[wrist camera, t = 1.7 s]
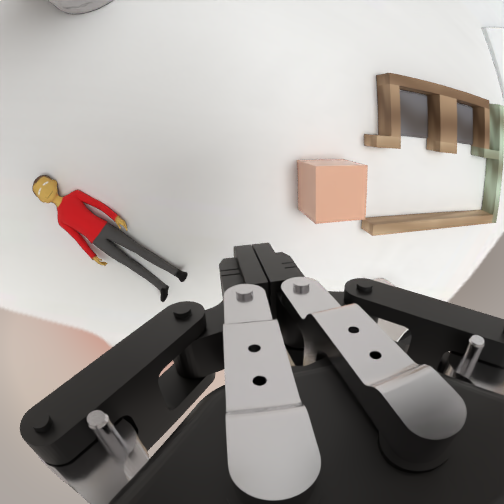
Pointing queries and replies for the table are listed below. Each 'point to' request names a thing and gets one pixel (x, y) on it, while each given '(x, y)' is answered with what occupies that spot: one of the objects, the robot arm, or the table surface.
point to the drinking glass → (394, 326)
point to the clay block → (332, 190)
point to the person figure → (100, 231)
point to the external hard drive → (496, 50)
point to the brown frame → (438, 143)
